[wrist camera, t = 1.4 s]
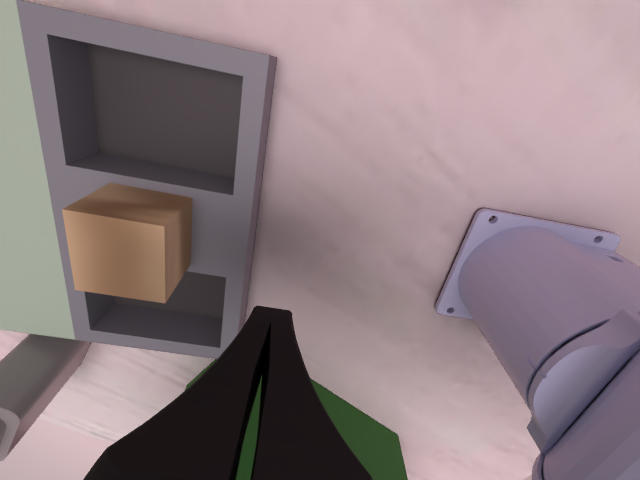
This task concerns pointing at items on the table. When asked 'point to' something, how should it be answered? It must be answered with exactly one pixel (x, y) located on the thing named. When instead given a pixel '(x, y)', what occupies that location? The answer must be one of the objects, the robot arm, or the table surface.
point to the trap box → (127, 170)
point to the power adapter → (33, 382)
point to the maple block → (129, 241)
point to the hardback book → (354, 426)
